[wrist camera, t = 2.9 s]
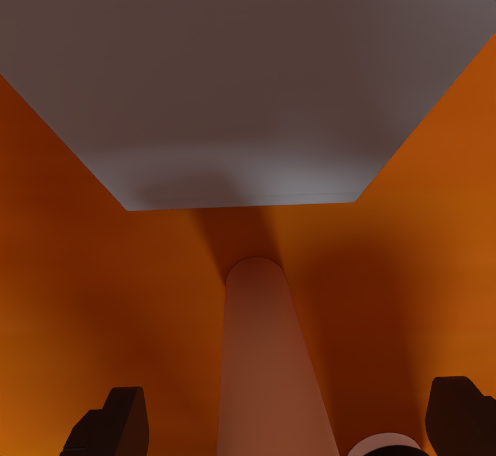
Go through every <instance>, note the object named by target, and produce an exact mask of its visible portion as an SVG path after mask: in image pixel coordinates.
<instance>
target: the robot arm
mask: <svg viewBox="0 0 496 456" xmlns="http://www.w3.org/2000/svg"><path fill="white" fill-rule="evenodd" d="M425 426H426V432H427V435H428V438H429V441H430V443H431V445H432V447H433V449H434V450H435V452H436V454H437V456H496V400H495V399H494V398H492V397H491V396H484V395H483V394H482V393H481V392H480V391H479V390H478V388H477V387H476V386H475V385H474V384H473V382H472V381H471V380H470V379H469V378H467V377H465V376H449V377H436V378H434V380H433V382H432V387H431V392H430V397H429V402H428V407H427V412H426V418H425ZM148 443H149V426H148V419H147V413H146V406H145V399H144V392H143V388H142V387H114V388H112V389H111V391H110V393H109V395H108V397H107V400H106V402H105V404H104V406H103V409H99V410H89V412H88V413H87V414H86V415H85V416H84V417H83V418H82V419H81V420H80V421H79V422H78V423H77V424H76V425H75V426H74V427H73V429H72V431H71V433H70V435H69V437H68V439H67V441H66V443H65V445H64V447H63V452H61V453H60V455H59V456H146V455H147V450H148Z"/></svg>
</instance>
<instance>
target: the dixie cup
mask: <svg viewBox="0 0 496 456" xmlns="http://www.w3.org/2000/svg"><path fill="white" fill-rule="evenodd" d="M348 456H429V455H428V454H427V453H425V452H424V451H422V450H421V448H420V447H419V446H418V444H417V443H416V442H415V441H414V440H413V439H411V438H410V437H408V436H405V435H402V434H398V433H381V434H376V435H373V436H370V437H368V438H366V439H364V440H362V441H360V442H359V443H358V444H356V445H355V446H354V447H353V448H352V449H351V451H350V452H349V454H348Z"/></svg>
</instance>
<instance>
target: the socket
mask: <svg viewBox="0 0 496 456" xmlns="http://www.w3.org/2000/svg"><path fill="white" fill-rule="evenodd" d="M495 32H496V0H0V75H1V76H2V77H3V78H4V79H5V80H6V81H7V82H8V83H9V84H10V85H11V86H12V88H13V89H14V90H15V91H16V92H17V93H18V94H19V95H20V96H21V97H22V98H23V99H24V100H25V101H26V103H27V104H28V105H29V106H30V107H31V108H32V109H33V110H34V111H35V112H36V113H37V114H38V115H39V117H40V118H41V119H42V120H43V121H44V122H45V123H46V124H47V125H48V126H49V127H50V128H51V129H52V130H53V132H54V133H55V134H56V135H57V136H58V137H59V138H60V139H61V140H62V141H63V142H64V143H65V144H66V146H67V147H68V148H69V149H70V150H71V151H72V152H73V153H74V154H75V155H76V156H77V157H78V158H79V159H80V161H81V162H82V163H83V164H84V165H85V166H86V167H87V168H88V169H89V170H90V171H91V172H92V173H93V175H94V176H95V177H96V178H97V179H98V180H99V181H100V182H101V183H102V184H103V185H104V186H105V187H106V188H107V190H108V191H109V192H110V193H111V194H112V195H113V196H114V197H115V198H116V199H117V200H118V201H119V203H120V204H121V205H122V206H123V207H124V208H125V209H126V210H127V211H138V210H163V209H189V208H215V207H241V206H267V205H292V204H318V203H344V202H355V201H356V200H357V198H358V197H359V196H360V195H361V194H362V192H363V191H364V190H365V188H366V187H367V186H368V185H369V184H370V182H371V181H372V180H373V179H374V178H375V176H376V175H377V174H378V173H379V172H380V170H381V169H382V168H383V167H384V166H385V164H386V163H387V162H388V161H389V159H390V158H391V157H392V156H393V155H394V153H395V152H396V151H397V150H398V149H399V147H400V146H401V145H402V144H403V143H404V141H405V140H406V139H407V138H408V137H409V135H410V134H411V133H412V132H413V131H414V129H415V128H416V127H417V126H418V125H419V123H420V122H421V121H422V120H423V119H424V117H425V116H426V115H427V114H428V112H429V111H430V110H431V109H432V108H433V106H434V105H435V104H436V103H437V102H438V100H439V99H440V98H441V97H442V96H443V94H444V93H445V92H446V91H447V90H448V88H449V87H450V86H451V85H452V84H453V82H454V81H455V80H456V79H457V78H458V76H459V75H460V74H461V73H462V71H463V70H464V69H465V68H466V67H467V65H468V64H469V63H470V62H471V61H472V59H473V58H474V57H475V56H476V55H477V53H478V52H479V51H480V50H481V49H482V47H483V46H484V45H485V44H486V43H487V41H488V40H489V39H490V38H491V37H492V35H493V34H494V33H495Z"/></svg>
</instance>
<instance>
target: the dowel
mask: <svg viewBox="0 0 496 456" xmlns="http://www.w3.org/2000/svg"><path fill="white" fill-rule="evenodd" d="M216 456H340V455H339V452H338V449H337V445H336V442H335V439H334V436H333V432H332V429H331V426H330V422H329V419H328V416H327V412H326V409H325V406H324V403H323V399H322V396H321V393H320V389H319V386H318V383H317V380H316V376H315V373H314V370H313V366H312V363H311V360H310V357H309V353H308V350H307V347H306V343H305V340H304V337H303V334H302V330H301V327H300V324H299V320H298V317H297V314H296V311H295V307H294V304H293V301H292V297H291V294H290V291H289V288H288V284H287V281H286V278H285V275H284V272H283V270H282V269H281V268H280V266H279V265H278V264H276V263H275V262H274V261H272V260H270V259H267V258H264V257H250V258H246V259H243V260H241V261H240V262H238V263H237V264H235V265H234V266H233V267H232V269H231V270H230V271H229V273H228V276H227V279H226V289H225V307H224V325H223V344H222V362H221V381H220V399H219V418H218V436H217V455H216Z"/></svg>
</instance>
